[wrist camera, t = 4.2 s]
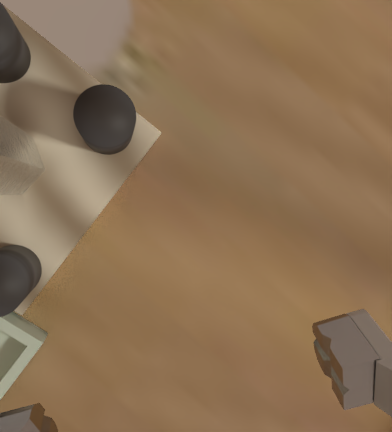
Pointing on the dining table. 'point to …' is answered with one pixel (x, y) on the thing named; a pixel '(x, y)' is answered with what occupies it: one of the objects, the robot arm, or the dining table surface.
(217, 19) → the dining table surface
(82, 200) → the spacer board
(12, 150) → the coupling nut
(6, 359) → the tray
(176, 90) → the dining table surface
